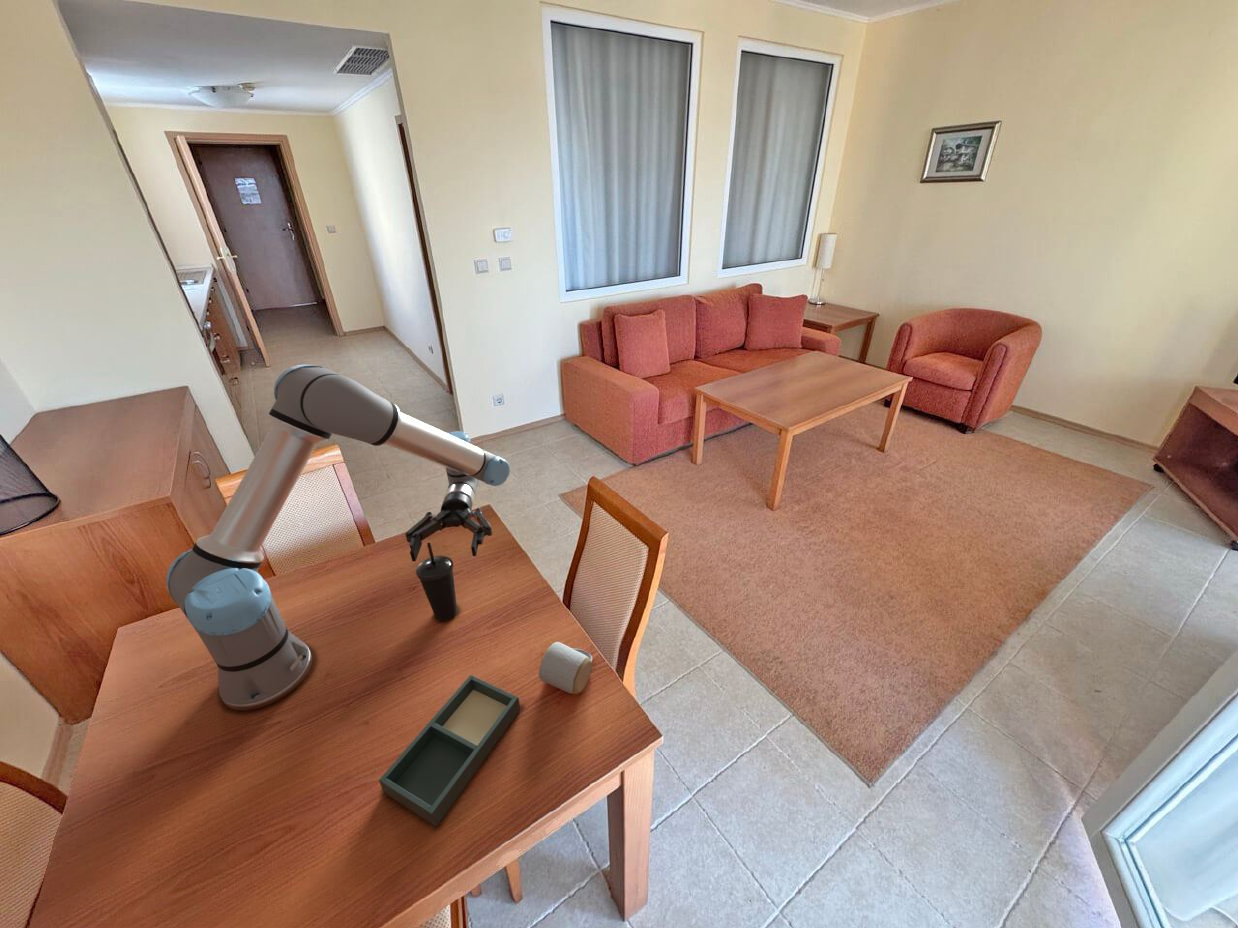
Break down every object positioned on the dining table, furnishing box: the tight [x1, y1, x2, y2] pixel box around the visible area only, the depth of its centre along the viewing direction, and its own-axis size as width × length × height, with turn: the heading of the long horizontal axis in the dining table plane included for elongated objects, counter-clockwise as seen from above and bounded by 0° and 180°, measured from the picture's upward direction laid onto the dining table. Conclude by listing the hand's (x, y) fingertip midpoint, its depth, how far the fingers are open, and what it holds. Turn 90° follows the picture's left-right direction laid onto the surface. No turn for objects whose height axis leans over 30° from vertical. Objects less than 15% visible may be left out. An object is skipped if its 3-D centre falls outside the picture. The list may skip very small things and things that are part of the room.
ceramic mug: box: [538, 641, 593, 695], centre depth 96 cm, size 11×8×8 cm
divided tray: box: [378, 674, 521, 827], centre depth 84 cm, size 11×21×4 cm, turn 154°
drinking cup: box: [415, 542, 458, 622], centre depth 108 cm, size 8×8×20 cm
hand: (443, 554), depth 114 cm, fingers open, 13 cm apart
